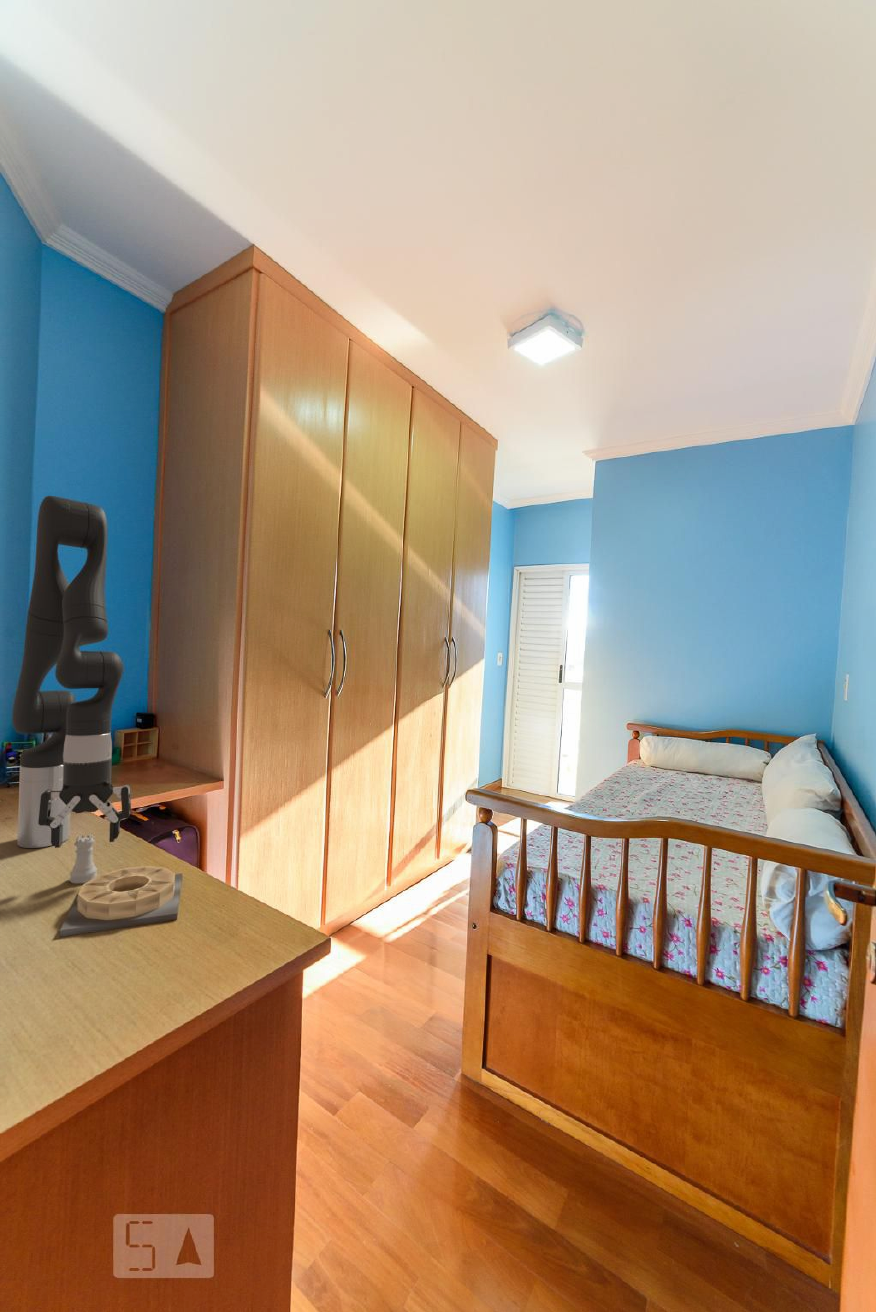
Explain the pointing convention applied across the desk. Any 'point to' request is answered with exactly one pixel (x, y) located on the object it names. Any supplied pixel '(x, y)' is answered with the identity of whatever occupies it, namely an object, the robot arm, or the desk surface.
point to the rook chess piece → (83, 861)
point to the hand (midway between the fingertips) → (85, 843)
